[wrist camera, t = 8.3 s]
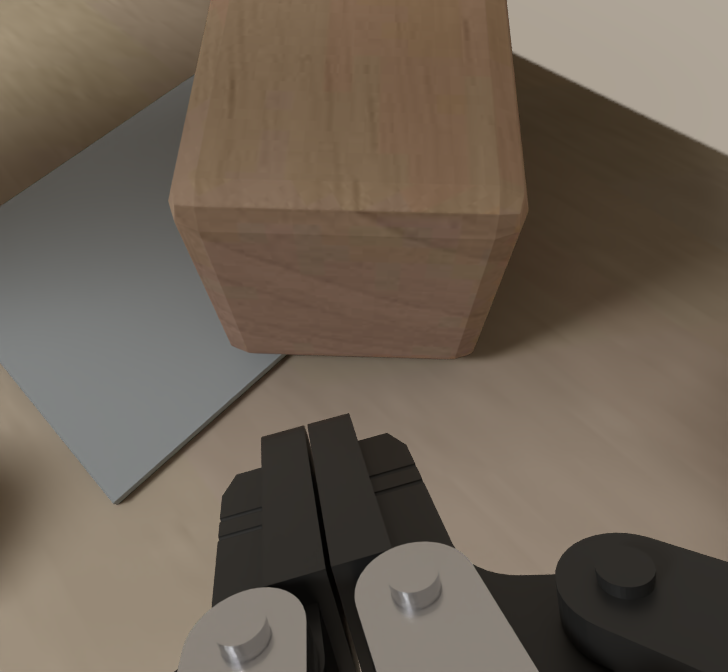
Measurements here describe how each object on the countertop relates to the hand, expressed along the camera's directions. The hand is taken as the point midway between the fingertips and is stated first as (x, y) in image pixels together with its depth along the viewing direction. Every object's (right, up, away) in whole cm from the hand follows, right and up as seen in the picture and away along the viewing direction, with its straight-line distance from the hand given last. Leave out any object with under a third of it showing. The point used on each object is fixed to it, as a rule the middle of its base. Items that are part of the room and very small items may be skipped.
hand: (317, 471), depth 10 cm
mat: (-8, +6, +17) cm, 20 cm away
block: (0, +3, +10) cm, 10 cm away
